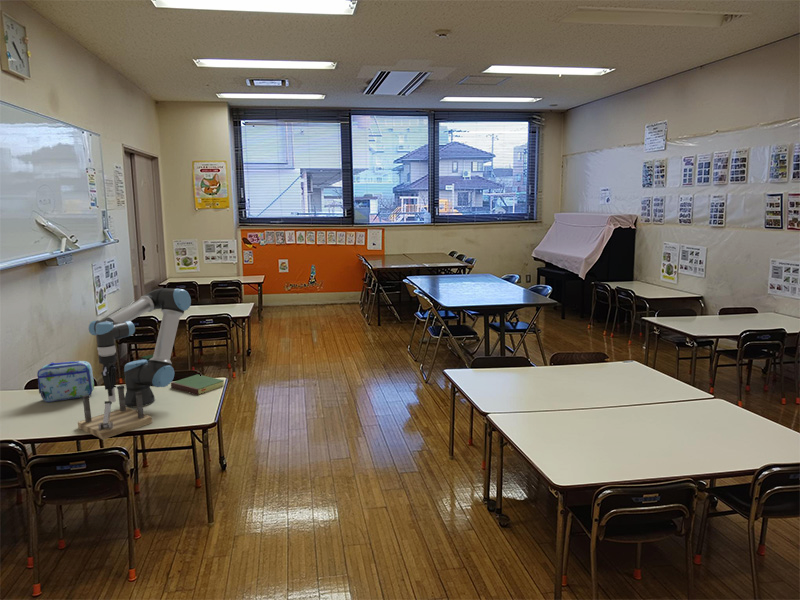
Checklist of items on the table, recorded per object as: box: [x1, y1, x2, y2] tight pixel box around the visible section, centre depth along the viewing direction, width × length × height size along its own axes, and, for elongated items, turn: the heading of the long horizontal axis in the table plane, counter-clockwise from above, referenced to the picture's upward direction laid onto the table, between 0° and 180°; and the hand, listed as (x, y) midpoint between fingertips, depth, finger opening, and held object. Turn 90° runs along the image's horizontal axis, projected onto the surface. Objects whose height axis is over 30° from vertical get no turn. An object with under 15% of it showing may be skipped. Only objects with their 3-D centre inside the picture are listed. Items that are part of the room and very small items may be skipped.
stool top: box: [77, 384, 153, 440], centre depth 269 cm, size 24×24×16 cm
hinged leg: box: [102, 400, 113, 429], centre depth 260 cm, size 13×3×2 cm
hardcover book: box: [170, 373, 225, 396], centre depth 326 cm, size 25×19×4 cm
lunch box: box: [36, 360, 95, 403], centre depth 309 cm, size 26×11×21 cm, turn 108°
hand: (112, 401), depth 268 cm, fingers closed
